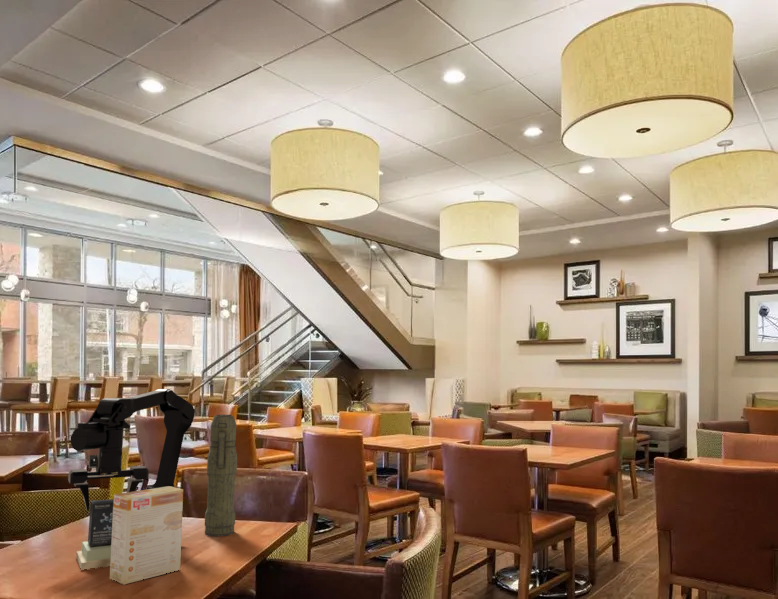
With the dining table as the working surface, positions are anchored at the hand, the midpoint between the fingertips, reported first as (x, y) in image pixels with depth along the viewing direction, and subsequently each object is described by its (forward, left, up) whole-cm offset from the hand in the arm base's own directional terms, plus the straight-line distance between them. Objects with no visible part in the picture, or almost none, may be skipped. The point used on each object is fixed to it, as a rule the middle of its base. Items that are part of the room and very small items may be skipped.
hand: (107, 508), depth 171 cm
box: (0, 0, -9) cm, 9 cm away
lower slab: (0, 0, -14) cm, 14 cm away
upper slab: (0, 0, -11) cm, 11 cm away
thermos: (-34, -15, -13) cm, 39 cm away
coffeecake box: (-7, +17, -13) cm, 23 cm away
